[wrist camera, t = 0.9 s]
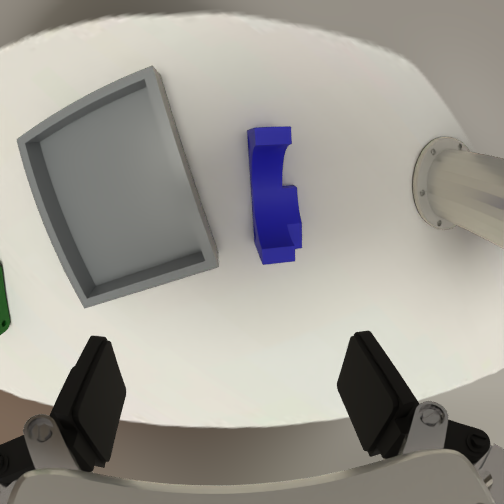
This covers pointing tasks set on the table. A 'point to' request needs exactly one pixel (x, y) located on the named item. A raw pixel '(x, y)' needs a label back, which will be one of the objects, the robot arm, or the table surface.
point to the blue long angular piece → (273, 196)
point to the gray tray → (118, 191)
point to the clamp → (3, 307)
